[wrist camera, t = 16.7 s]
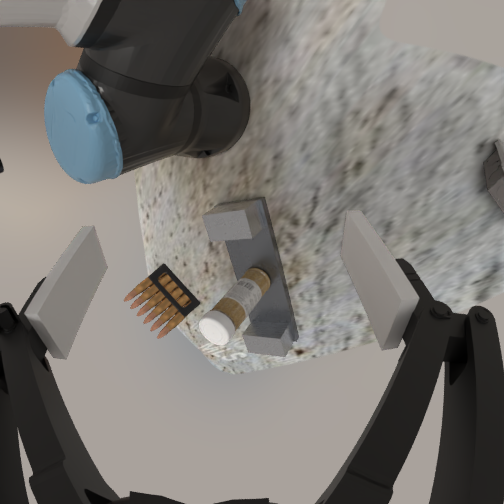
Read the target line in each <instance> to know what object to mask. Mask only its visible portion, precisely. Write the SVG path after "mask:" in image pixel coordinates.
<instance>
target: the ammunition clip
mask: <svg viewBox="0 0 504 504" xmlns="http://www.w3.org/2000/svg"><path fill="white" fill-rule="evenodd" d="M161 277H162V278H161ZM160 278H161V279H160ZM168 283H169V284H168ZM164 286H165V287H164ZM148 287H149V288H148ZM147 288H148V289H147ZM146 289H147V290H146ZM145 290H146V291H145ZM143 291H145V292H143ZM172 291H173V292H172ZM142 292H143V294H142V295H141V296H140V297H139V298H138V299H136V300H135V301H134V303H133V304H132V305H131V307H130V308H131V309H133V308H136V307H138V306H139V305H141V304H142V303H143V302H145V301H146V300H148V299H150V298H151V297H152V296H153V295H154V296H153V297H152V298H151V299H150V300H149V301H148V302H147V303H146V304H145V305H144V306H143V307H142V308H141V309H140V311H139V312H138V313H137V316H141V315H143V314H144V313H146V312H147V311H149V310H150V309H151V308H153V307H154V306H156V305H157V304H158V303H159V304H158V305H157V306H156V307H155V309H154V310H153V311H152V312H151V313H150V314H149V315H148V316H147V317H146V318H145V320H144V322H143V323H144V324H145V323H148V322H150V321H151V320H153V319H154V318H155V317H157V316H158V315H159V314H161V313H163V312H164V311H165V310H166V309H167V308H168V307H169V308H168V309H167V310H166V311H165V312H164V313H163V314H162V315H161V317H160V318H159V319H158V320H157V321H156V322H155V323H154V324H153V326H152V327H151V330H150V331H153V330H155V329H157V328H159V327H160V326H161V325H162V324H164V323H165V322H166V321H168V320H169V319H170V318H171V317H173V316H174V315H175V316H174V317H173V318H172V319H171V320H170V321H169V322H168V324H167V325H166V326H165V327H164V328H163V329H162V330H161V331H160V333H159V335H158V337H157V338H158V339H159V338H161V337H163V336H165V335H166V334H167V333H168V332H169V331H171V330H172V329H173V328H175V327H176V326H177V325H178V324H179V323H180V322H181V321H182V320H183V319H184V318H185V317H186V316H187V315H188V314H189V313H190V312H191V311H193V310H194V309H195V308H196V307H197V306H198V305H199V304H200V302H199V301H198V300H197V299H196V297H195V296H194V295H193V294H192V293H191V292H190V291H189V290H188V289H187V288H186V287H185V286H184V284H183V283H182V282H181V281H180V280H179V279H178V278H177V277H176V276H175V275H174V273H173V272H172V271H171V270H170V269H169V268H168V267H167V266H166V264H163V265H161V266H160V267H159V268H158V269H157V270H155V271H154V272H153V273H152V274H151V275H150V276H148V277H147V278H146V279H145V280H143V281H142V282H141V283H140V284H138V285H137V286H136V288H134V289H133V290H132V291H131V292H130V293H129V294H128V295H127V296H126V297H125V299H124V301H129V300H131V299H132V298H134V297H135V296H136V295H138V294H140V293H142ZM171 292H172V293H171ZM170 293H171V294H170ZM179 297H180V298H179ZM178 298H179V299H178ZM177 299H178V300H177ZM176 300H177V301H176ZM161 301H162V302H161ZM186 303H187V304H186ZM185 304H186V305H185ZM184 305H185V306H184ZM183 306H184V307H183Z"/></svg>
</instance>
